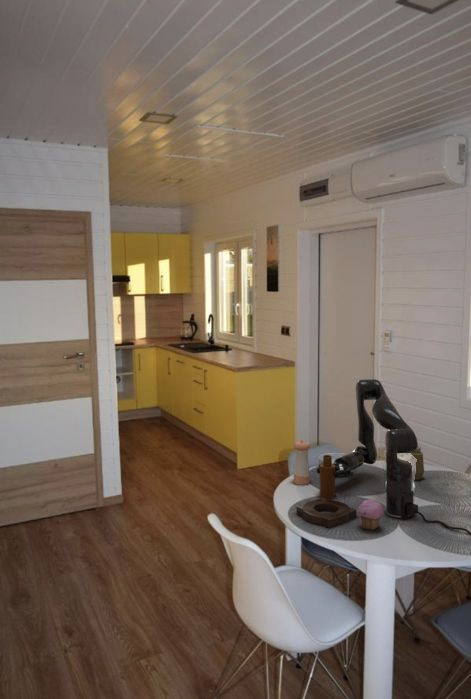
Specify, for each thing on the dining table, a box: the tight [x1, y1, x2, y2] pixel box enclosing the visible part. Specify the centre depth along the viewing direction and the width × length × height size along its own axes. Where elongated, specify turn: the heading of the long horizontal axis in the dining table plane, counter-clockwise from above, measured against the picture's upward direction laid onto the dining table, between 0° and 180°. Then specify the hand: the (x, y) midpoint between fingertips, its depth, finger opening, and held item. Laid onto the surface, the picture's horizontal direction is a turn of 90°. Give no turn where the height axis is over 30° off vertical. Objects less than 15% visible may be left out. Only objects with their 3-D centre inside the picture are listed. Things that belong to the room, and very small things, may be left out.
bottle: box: [319, 455, 336, 499], centre depth 240 cm, size 6×6×17 cm
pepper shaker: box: [293, 439, 311, 486], centre depth 257 cm, size 7×7×19 cm
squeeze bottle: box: [411, 445, 425, 481], centre depth 260 cm, size 8×8×18 cm
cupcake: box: [357, 499, 384, 531], centre depth 208 cm, size 9×9×10 cm
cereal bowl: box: [318, 452, 347, 465], centre depth 270 cm, size 17×17×7 cm
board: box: [296, 497, 357, 529], centre depth 220 cm, size 18×18×3 cm
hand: (326, 473), depth 239 cm, fingers open, 8 cm apart
